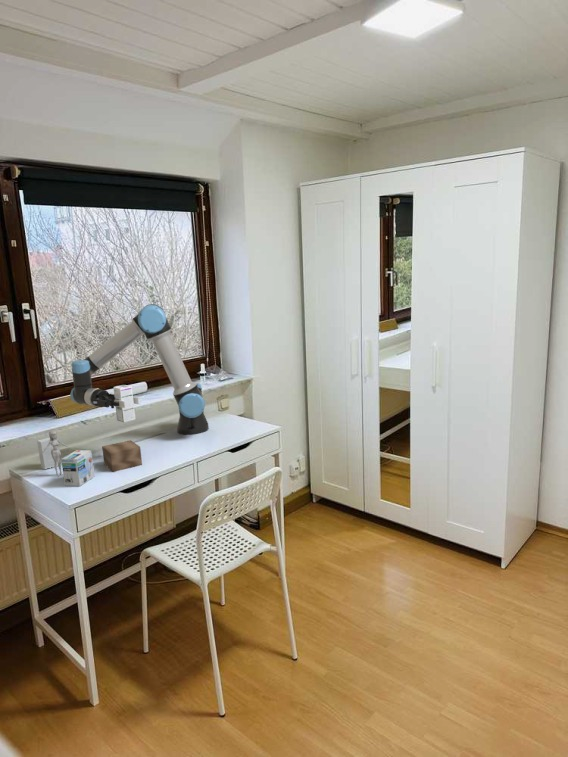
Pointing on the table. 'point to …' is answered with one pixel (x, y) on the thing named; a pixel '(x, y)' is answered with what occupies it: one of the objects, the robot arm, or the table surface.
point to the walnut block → (122, 455)
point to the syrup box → (126, 395)
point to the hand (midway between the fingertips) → (132, 402)
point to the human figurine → (55, 450)
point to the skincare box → (45, 453)
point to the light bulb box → (78, 468)
